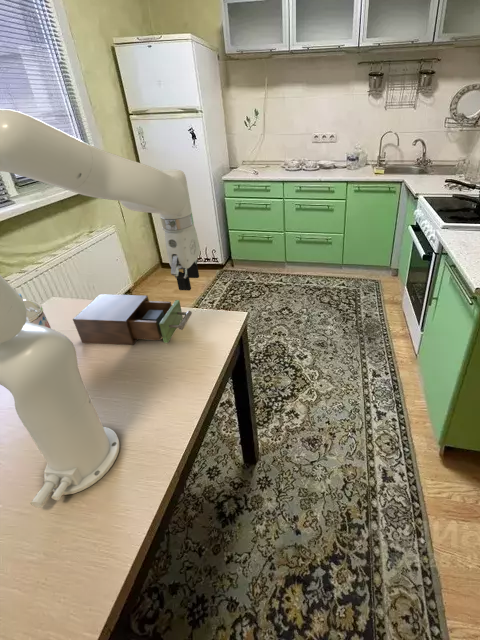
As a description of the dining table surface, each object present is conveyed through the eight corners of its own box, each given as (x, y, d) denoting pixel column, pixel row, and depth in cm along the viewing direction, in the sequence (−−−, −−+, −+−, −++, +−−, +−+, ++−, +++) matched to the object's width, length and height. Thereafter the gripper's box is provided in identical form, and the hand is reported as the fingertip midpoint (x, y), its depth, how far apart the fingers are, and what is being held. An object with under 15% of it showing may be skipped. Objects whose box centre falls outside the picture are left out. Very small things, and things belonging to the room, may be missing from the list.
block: (159, 331, 94) (156, 319, 92) (145, 330, 95) (141, 318, 93) (166, 321, 98) (163, 310, 96) (152, 321, 98) (149, 309, 96)
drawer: (196, 318, 101) (192, 300, 98) (182, 343, 91) (178, 324, 88) (139, 316, 103) (134, 298, 100) (119, 340, 93) (112, 321, 90)
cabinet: (153, 317, 103) (147, 295, 99) (133, 345, 92) (125, 321, 88) (107, 316, 105) (100, 294, 101) (82, 343, 94) (72, 319, 90)
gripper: (178, 235, 72) (191, 302, 80) (203, 210, 87) (212, 268, 95) (146, 234, 73) (162, 301, 81) (176, 209, 88) (187, 268, 96)
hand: (189, 282), depth 88 cm, fingers open, 5 cm apart
